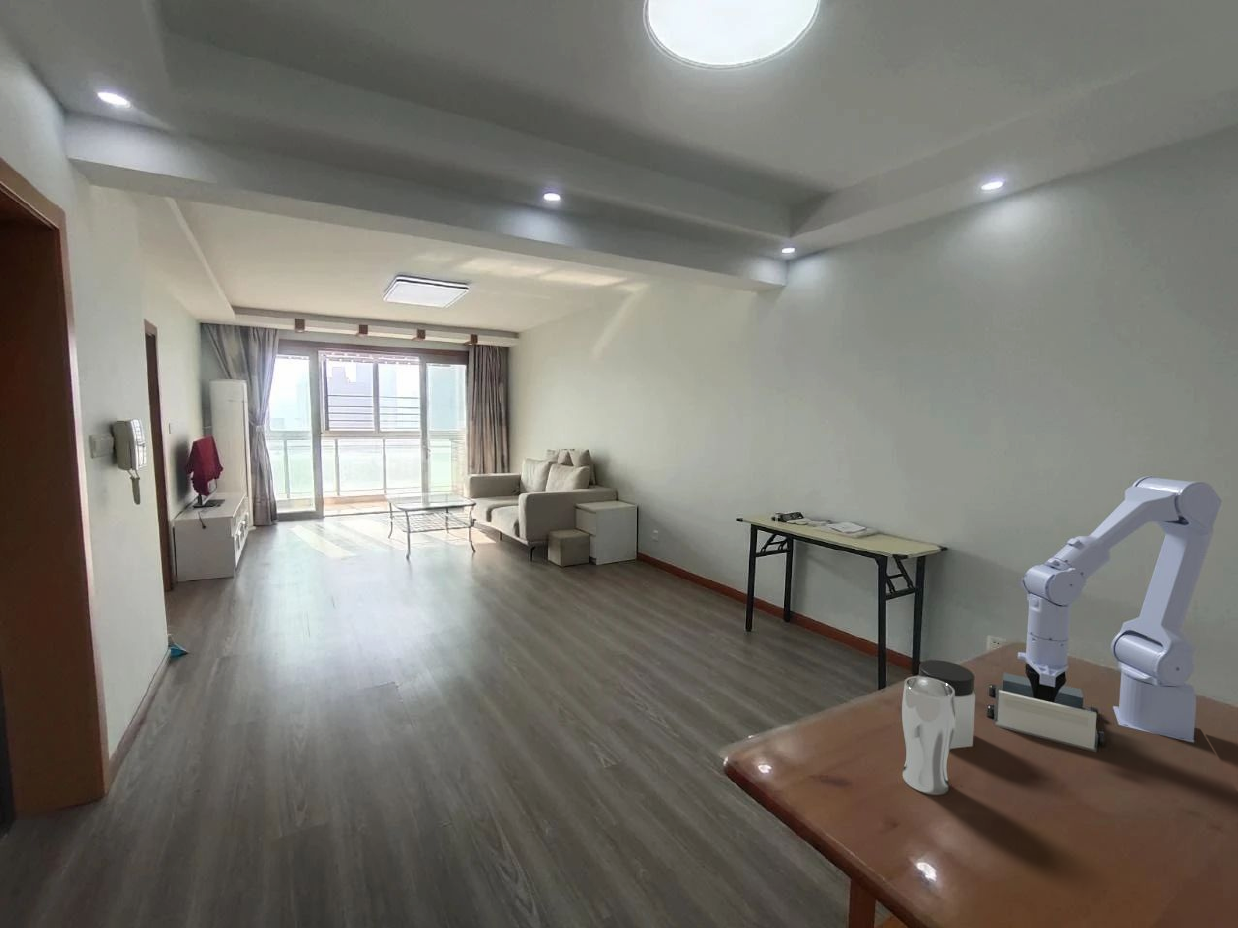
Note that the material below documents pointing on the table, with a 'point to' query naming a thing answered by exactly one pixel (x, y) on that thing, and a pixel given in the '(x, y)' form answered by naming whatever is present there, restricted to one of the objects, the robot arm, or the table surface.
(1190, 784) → the table surface
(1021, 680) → the grey piece
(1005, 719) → the panel
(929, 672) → the jar
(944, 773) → the beer glass
